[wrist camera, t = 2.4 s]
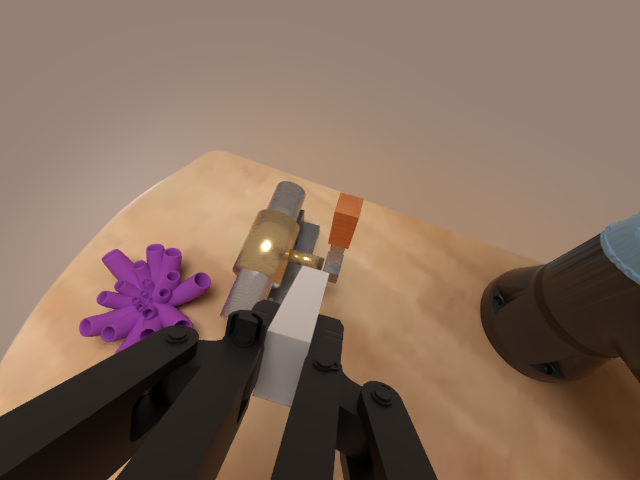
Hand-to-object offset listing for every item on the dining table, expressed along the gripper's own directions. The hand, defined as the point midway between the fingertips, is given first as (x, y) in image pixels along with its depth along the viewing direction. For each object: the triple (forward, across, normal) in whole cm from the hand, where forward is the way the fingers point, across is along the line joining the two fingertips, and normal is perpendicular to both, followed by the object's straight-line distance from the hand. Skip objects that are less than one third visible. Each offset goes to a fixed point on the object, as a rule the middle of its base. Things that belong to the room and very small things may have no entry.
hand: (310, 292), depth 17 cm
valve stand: (+25, -5, -11) cm, 28 cm away
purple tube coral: (+19, -19, -18) cm, 32 cm away
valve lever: (+20, +1, -6) cm, 21 cm away
